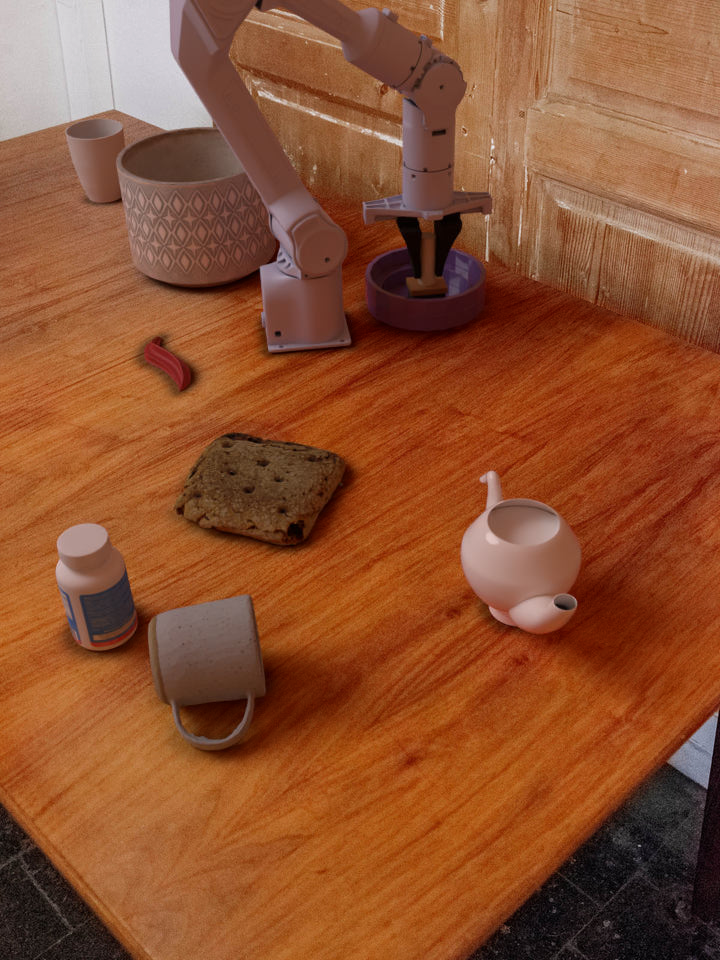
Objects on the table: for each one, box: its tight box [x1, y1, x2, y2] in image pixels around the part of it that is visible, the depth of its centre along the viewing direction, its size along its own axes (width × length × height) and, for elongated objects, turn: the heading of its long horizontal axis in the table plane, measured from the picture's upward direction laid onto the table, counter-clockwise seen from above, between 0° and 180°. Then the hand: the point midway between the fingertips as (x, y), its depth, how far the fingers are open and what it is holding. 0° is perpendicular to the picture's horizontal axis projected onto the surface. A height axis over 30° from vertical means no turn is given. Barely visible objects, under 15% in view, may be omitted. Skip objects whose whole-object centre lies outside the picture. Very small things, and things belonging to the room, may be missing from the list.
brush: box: [406, 231, 448, 299], centre depth 128 cm, size 4×3×9 cm
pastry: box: [173, 431, 346, 547], centre depth 103 cm, size 17×17×3 cm
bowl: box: [364, 246, 487, 332], centre depth 131 cm, size 14×14×4 cm
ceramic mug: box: [147, 593, 267, 751], centre depth 82 cm, size 11×8×8 cm
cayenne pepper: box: [143, 336, 192, 392], centre depth 122 cm, size 12×5×2 cm, turn 14°
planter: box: [116, 126, 277, 288], centre depth 139 cm, size 19×19×14 cm
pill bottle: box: [55, 522, 139, 652], centre depth 87 cm, size 6×5×10 cm
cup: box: [64, 118, 126, 204], centre depth 158 cm, size 8×8×10 cm
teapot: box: [460, 470, 583, 635], centre depth 88 cm, size 10×20×9 cm, turn 12°
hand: (426, 274), depth 129 cm, fingers closed on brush, 2 cm apart
